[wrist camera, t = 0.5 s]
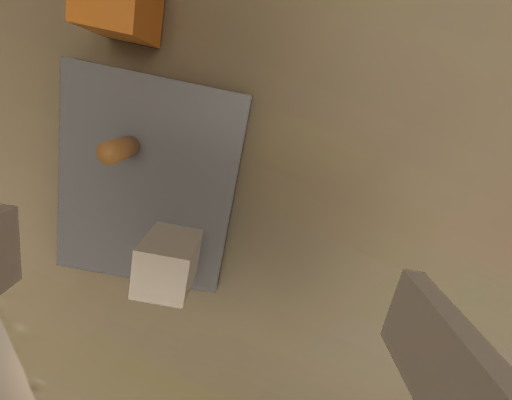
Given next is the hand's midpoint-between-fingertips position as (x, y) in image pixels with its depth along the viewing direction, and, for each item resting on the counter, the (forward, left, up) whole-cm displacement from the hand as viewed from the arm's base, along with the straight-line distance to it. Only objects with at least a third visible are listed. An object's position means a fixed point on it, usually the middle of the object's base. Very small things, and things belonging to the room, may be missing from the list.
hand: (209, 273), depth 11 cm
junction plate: (+5, -9, -24) cm, 26 cm away
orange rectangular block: (-11, -12, -24) cm, 29 cm away
